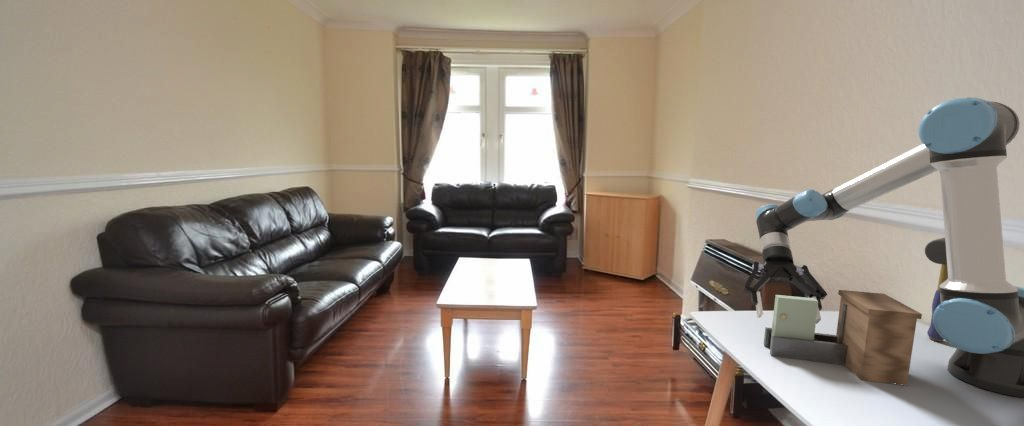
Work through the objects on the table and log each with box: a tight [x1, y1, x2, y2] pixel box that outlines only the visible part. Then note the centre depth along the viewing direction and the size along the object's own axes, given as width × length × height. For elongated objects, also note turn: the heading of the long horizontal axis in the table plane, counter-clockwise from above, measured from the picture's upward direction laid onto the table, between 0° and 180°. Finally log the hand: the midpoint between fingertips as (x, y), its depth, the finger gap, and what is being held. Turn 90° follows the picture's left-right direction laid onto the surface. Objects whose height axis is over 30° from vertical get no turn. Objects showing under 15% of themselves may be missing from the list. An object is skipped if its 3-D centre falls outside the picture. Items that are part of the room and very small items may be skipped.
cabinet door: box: [769, 294, 818, 349], centre depth 114 cm, size 9×3×15 cm, turn 75°
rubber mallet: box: [924, 237, 948, 342], centre depth 124 cm, size 12×8×30 cm, turn 115°
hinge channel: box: [763, 327, 848, 366], centre depth 114 cm, size 16×7×5 cm, turn 75°
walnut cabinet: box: [835, 289, 923, 386], centre depth 106 cm, size 10×15×17 cm, turn 165°
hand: (788, 318), depth 117 cm, fingers open, 13 cm apart
